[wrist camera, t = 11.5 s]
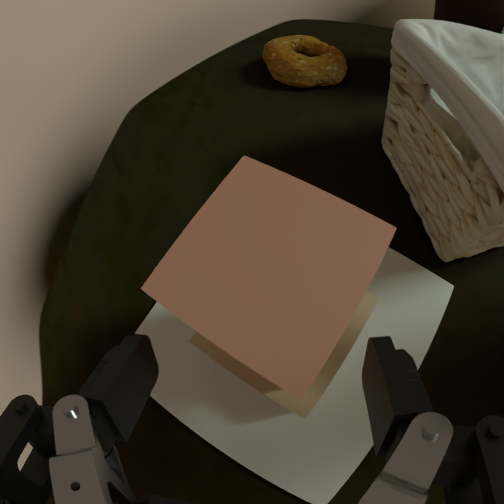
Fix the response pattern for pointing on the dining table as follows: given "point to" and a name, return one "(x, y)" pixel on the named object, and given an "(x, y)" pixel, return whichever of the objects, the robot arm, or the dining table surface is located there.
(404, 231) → the dining table surface
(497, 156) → the storage basket
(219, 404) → the build board
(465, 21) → the olive oil
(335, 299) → the tall salmon block
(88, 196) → the dining table surface
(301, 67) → the bagel
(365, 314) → the oak brick
